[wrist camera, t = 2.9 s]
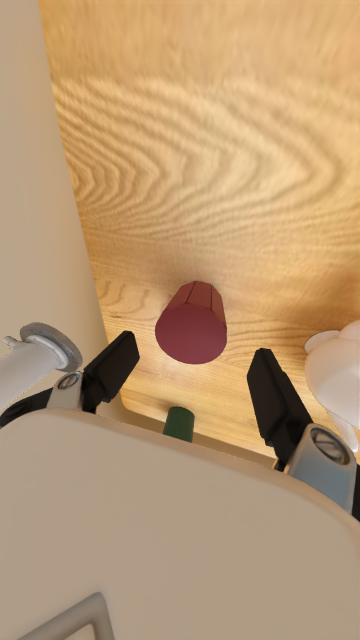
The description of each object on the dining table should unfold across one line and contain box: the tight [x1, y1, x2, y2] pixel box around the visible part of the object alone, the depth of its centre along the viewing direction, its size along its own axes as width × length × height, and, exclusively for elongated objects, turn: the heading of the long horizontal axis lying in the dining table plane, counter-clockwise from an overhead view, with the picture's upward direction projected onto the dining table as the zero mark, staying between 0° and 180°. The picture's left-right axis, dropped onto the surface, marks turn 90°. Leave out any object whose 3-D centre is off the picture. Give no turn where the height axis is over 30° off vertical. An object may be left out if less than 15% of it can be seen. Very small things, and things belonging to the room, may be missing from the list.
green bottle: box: [163, 407, 194, 443], centre depth 29 cm, size 7×7×15 cm
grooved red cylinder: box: [155, 281, 227, 364], centre depth 15 cm, size 7×7×8 cm
